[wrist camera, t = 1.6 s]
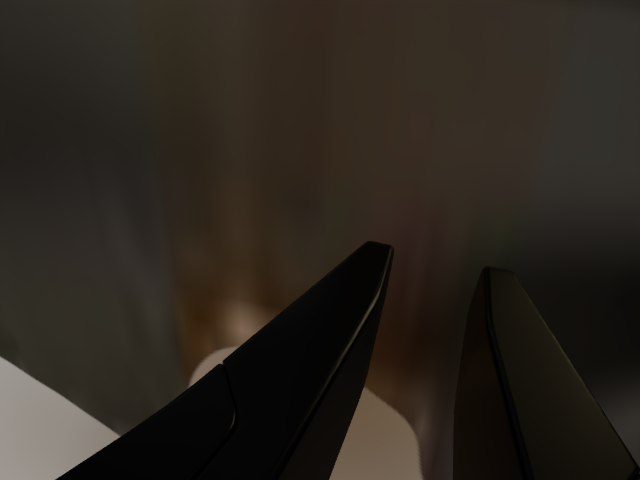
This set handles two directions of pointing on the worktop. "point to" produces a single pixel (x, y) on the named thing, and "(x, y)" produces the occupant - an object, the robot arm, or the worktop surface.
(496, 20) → the worktop surface
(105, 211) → the worktop surface
